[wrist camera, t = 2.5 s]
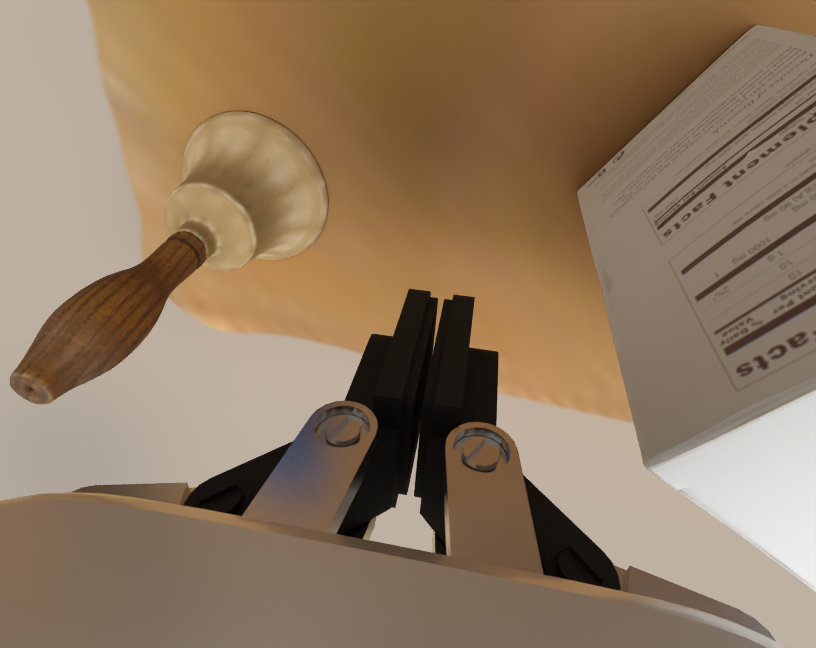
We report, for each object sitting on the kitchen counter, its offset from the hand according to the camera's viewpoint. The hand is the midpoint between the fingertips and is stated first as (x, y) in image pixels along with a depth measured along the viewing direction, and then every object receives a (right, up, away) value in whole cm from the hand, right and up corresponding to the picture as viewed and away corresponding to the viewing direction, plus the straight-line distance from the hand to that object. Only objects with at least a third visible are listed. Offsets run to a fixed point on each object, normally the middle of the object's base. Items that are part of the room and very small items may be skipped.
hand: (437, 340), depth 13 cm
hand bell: (-9, +8, +14) cm, 19 cm away
